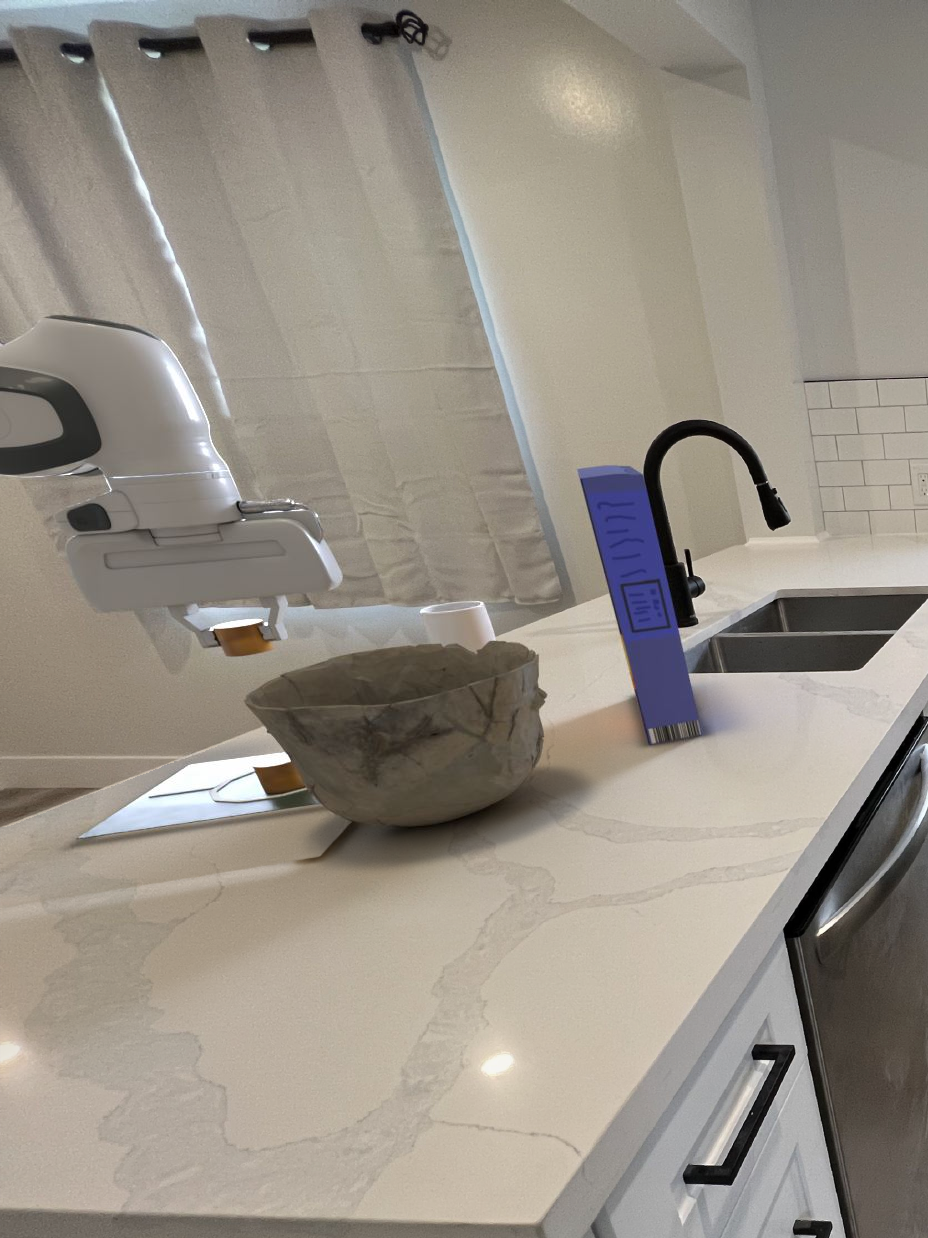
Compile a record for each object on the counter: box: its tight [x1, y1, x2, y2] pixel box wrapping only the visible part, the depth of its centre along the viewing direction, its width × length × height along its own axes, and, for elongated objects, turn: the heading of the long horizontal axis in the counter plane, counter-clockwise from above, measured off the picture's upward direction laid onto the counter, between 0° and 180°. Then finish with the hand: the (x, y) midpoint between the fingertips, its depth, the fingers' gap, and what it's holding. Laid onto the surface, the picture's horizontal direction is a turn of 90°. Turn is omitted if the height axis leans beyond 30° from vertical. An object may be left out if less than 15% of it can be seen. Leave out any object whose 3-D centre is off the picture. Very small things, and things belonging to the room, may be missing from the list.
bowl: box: [243, 640, 548, 828], centre depth 82 cm, size 22×22×15 cm
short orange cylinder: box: [212, 618, 276, 658], centre depth 90 cm, size 4×4×3 cm
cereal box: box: [576, 464, 703, 746], centre depth 104 cm, size 22×6×30 cm, turn 28°
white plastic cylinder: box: [420, 600, 497, 655], centre depth 108 cm, size 7×7×15 cm
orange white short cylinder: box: [252, 754, 305, 794], centre depth 90 cm, size 4×4×3 cm
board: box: [76, 751, 321, 840], centre depth 92 cm, size 20×20×1 cm
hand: (246, 643), depth 90 cm, fingers closed on short orange cylinder, 4 cm apart
